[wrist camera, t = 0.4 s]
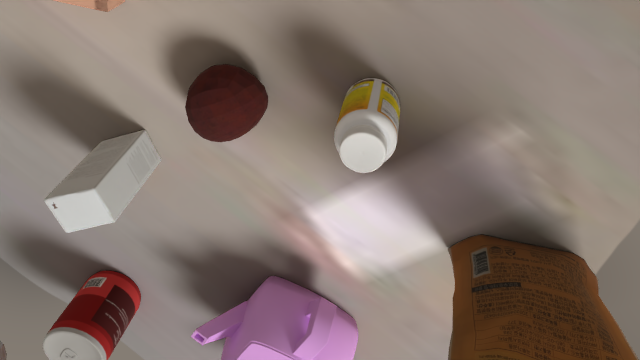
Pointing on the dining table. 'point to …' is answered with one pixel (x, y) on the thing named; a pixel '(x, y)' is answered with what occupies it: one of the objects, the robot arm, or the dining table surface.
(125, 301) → the canned food
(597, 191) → the dining table surface
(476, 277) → the pancake mix bag
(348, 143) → the supplement bottle
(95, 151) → the skincare box
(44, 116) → the dining table surface
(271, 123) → the dining table surface
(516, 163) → the dining table surface
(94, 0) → the tray
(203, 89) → the potato
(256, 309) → the teakettle
